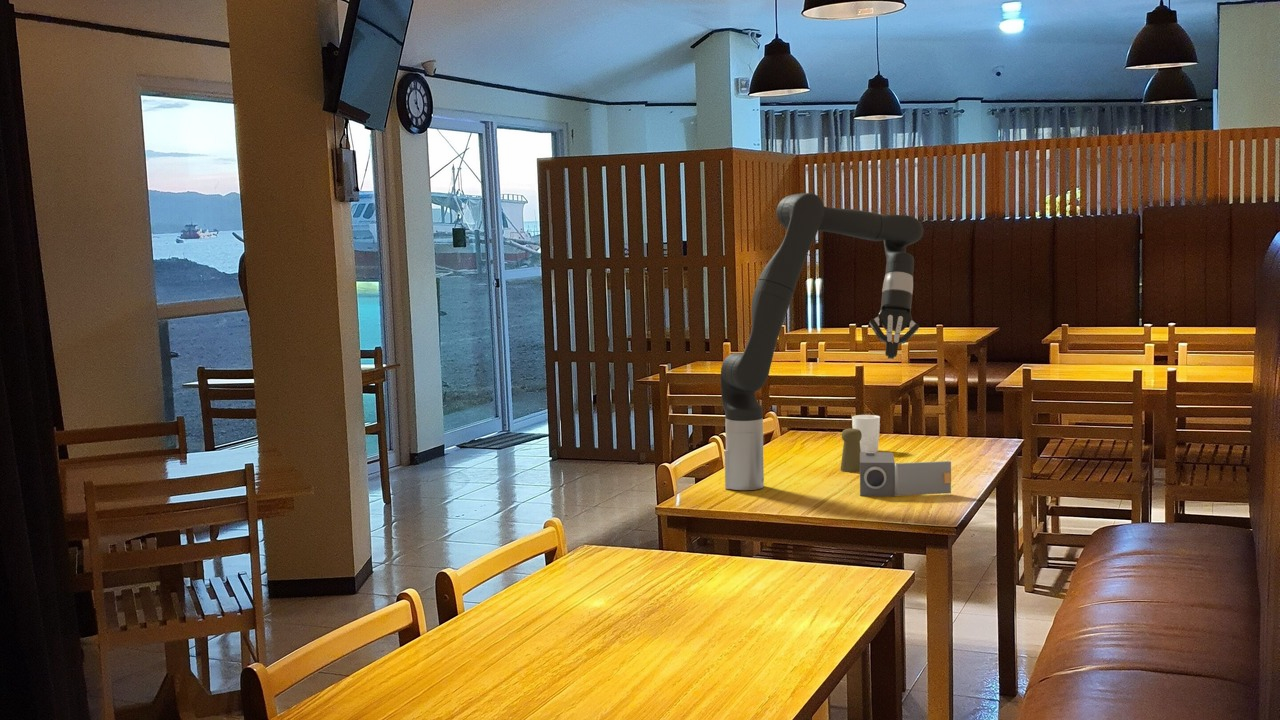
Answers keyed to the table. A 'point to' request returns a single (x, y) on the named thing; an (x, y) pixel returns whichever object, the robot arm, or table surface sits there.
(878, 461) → the block
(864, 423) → the white cup
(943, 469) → the door
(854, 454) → the cork
